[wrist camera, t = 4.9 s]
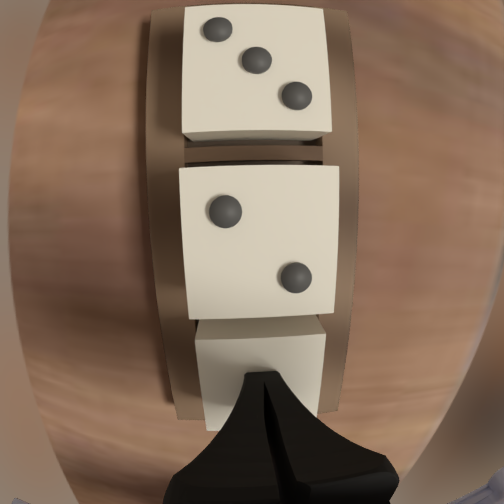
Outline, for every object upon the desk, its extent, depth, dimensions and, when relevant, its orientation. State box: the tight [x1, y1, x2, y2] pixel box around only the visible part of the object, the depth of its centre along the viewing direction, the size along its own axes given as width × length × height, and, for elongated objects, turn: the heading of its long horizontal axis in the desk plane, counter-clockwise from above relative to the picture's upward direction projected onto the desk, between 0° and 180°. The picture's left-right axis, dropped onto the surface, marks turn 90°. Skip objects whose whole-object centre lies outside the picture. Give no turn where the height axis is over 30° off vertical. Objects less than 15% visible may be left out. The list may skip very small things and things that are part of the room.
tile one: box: [195, 314, 326, 431], centre depth 14 cm, size 5×5×3 cm
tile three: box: [182, 4, 332, 142], centre depth 11 cm, size 5×5×3 cm
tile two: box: [179, 165, 339, 319], centre depth 11 cm, size 5×5×3 cm
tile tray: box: [146, 3, 359, 420], centre depth 14 cm, size 20×9×1 cm, turn 1°
